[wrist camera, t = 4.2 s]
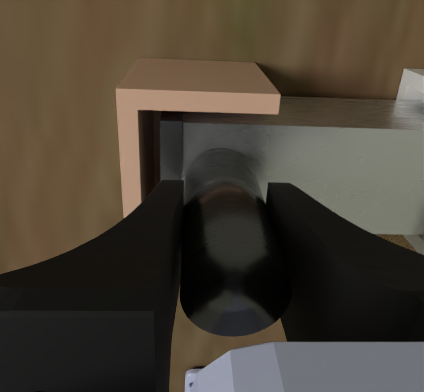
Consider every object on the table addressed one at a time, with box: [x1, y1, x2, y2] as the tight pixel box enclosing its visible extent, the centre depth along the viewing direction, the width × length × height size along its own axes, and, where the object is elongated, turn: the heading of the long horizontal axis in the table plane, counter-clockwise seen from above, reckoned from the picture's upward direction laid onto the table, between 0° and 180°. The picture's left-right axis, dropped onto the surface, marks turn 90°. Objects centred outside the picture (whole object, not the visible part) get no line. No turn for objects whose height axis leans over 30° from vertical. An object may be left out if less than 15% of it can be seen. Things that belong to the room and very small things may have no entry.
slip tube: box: [160, 96, 424, 336], centre depth 13 cm, size 4×12×10 cm, turn 87°
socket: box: [116, 58, 281, 218], centre depth 16 cm, size 6×5×6 cm
